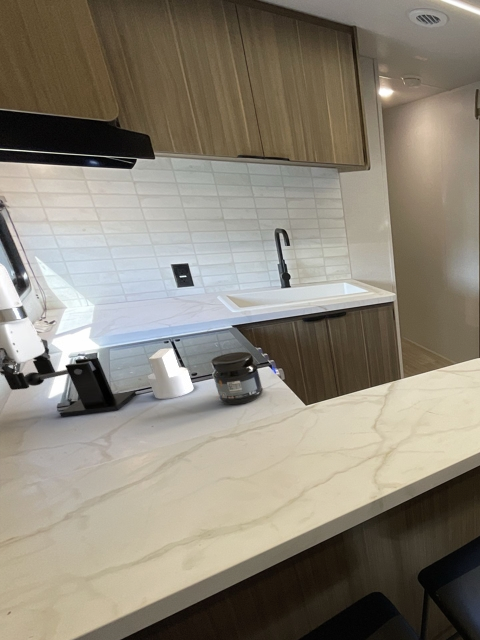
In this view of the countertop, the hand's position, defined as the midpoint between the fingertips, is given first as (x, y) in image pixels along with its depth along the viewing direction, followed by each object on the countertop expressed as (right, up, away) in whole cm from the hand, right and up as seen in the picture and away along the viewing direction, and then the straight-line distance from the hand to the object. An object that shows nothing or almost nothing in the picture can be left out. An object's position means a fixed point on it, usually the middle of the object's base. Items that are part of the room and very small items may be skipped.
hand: (34, 381), depth 102 cm
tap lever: (+5, 0, +2) cm, 6 cm away
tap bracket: (+11, -7, +6) cm, 14 cm away
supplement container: (+47, -5, +10) cm, 48 cm away
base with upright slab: (+24, -4, +14) cm, 28 cm away
